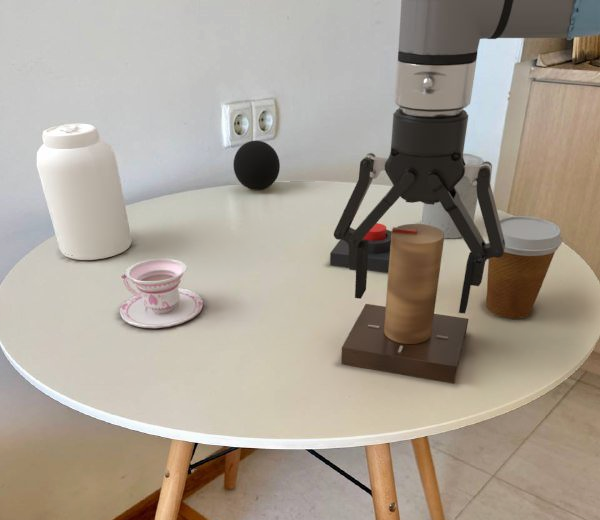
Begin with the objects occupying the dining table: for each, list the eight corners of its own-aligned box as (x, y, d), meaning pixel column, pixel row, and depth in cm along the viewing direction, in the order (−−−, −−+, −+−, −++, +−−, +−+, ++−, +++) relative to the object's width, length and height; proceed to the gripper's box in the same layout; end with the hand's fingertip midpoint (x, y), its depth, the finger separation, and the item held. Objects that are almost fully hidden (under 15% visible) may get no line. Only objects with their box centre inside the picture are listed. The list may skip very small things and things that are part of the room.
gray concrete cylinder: (441, 215, 116) (449, 149, 108) (483, 228, 110) (495, 159, 102) (409, 228, 110) (416, 160, 103) (452, 242, 105) (462, 171, 97)
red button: (388, 234, 99) (388, 224, 98) (382, 243, 96) (383, 232, 95) (364, 231, 100) (365, 221, 99) (358, 240, 97) (359, 230, 96)
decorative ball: (289, 188, 131) (288, 140, 125) (255, 199, 125) (252, 150, 119) (260, 179, 137) (257, 133, 131) (226, 189, 131) (221, 141, 125)
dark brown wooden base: (466, 334, 79) (469, 317, 78) (454, 383, 70) (457, 365, 69) (364, 319, 83) (365, 302, 82) (341, 364, 74) (341, 346, 73)
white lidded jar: (55, 242, 108) (22, 124, 96) (123, 230, 112) (100, 115, 100) (67, 267, 99) (32, 141, 87) (140, 252, 103) (117, 130, 91)
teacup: (207, 289, 92) (202, 251, 88) (198, 328, 82) (192, 288, 78) (129, 291, 91) (122, 254, 88) (111, 331, 82) (102, 290, 78)
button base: (413, 250, 102) (415, 228, 100) (401, 274, 95) (403, 250, 92) (346, 242, 106) (346, 221, 103) (329, 265, 98) (330, 242, 96)
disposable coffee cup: (469, 318, 83) (484, 235, 76) (479, 289, 90) (493, 211, 83) (541, 329, 80) (563, 245, 73) (545, 299, 87) (566, 219, 80)
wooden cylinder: (434, 324, 77) (448, 224, 69) (427, 347, 72) (440, 243, 64) (389, 317, 78) (397, 219, 70) (379, 339, 74) (386, 237, 66)
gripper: (305, 109, 60) (307, 300, 73) (558, 123, 54) (511, 330, 67) (327, 96, 66) (325, 275, 79) (558, 107, 59) (515, 300, 72)
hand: (410, 301), depth 73 cm, fingers open, 12 cm apart
